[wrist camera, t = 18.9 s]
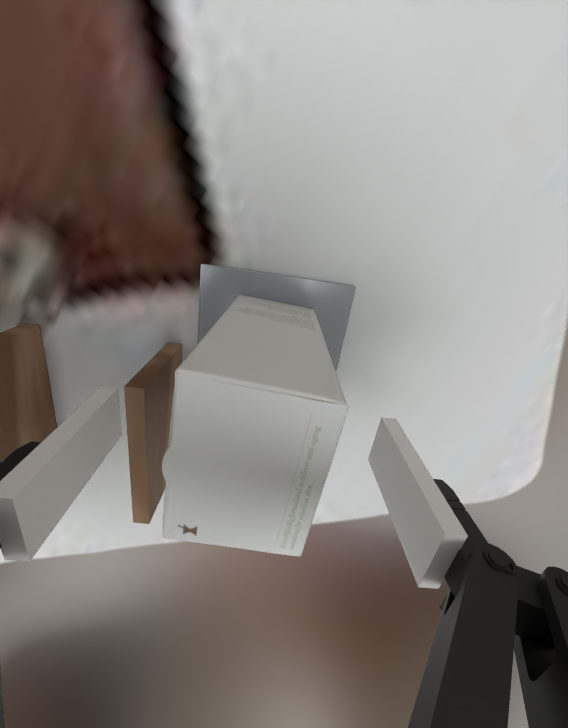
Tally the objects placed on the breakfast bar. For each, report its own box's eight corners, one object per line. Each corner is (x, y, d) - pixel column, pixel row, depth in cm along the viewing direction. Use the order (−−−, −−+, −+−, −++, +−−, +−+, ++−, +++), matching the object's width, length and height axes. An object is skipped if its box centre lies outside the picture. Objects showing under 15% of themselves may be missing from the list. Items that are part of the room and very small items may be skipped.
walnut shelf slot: (46, 440, 31) (-27, 506, 24) (24, 323, 26) (-76, 361, 19) (180, 455, 32) (149, 523, 24) (181, 344, 27) (143, 388, 20)
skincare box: (293, 394, 28) (304, 566, 14) (220, 381, 28) (154, 546, 13) (316, 304, 25) (361, 408, 11) (234, 287, 24) (166, 372, 10)
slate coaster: (197, 397, 29) (195, 400, 28) (202, 263, 24) (200, 263, 24) (324, 412, 30) (325, 416, 29) (354, 285, 25) (355, 287, 24)
